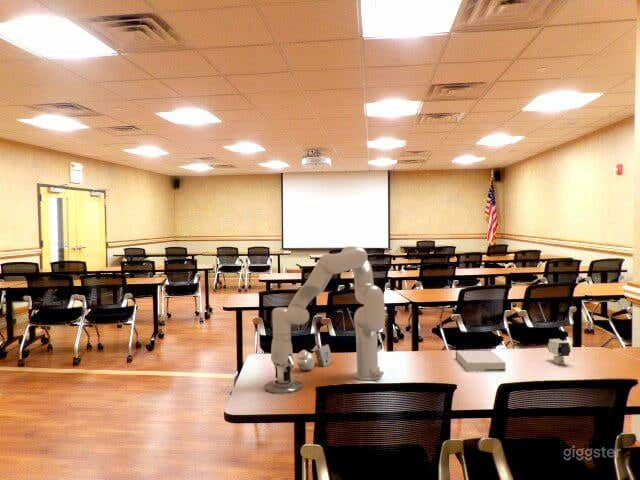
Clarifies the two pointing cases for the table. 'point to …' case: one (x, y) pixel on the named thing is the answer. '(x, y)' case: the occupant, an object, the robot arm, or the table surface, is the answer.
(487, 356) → the disc drive
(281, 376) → the white rounded cylinder
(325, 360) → the electrical switch
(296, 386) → the socket
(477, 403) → the table surface
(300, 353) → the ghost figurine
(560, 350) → the security camera
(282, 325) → the robot arm
